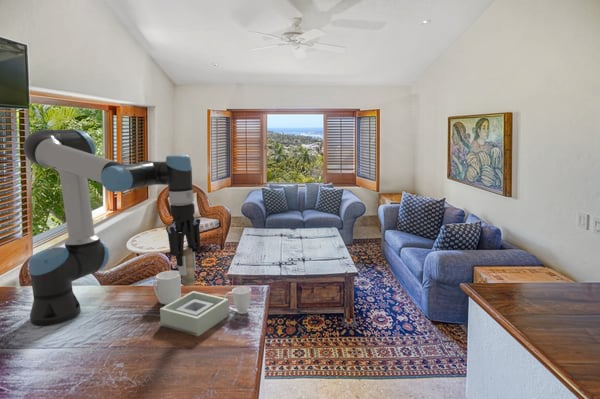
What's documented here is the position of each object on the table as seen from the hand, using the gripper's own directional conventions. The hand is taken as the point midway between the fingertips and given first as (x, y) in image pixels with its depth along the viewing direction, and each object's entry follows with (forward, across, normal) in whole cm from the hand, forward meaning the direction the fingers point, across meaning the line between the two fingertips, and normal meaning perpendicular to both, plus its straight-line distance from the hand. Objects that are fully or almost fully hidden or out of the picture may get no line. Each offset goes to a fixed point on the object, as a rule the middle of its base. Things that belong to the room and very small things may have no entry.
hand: (187, 272), depth 131 cm
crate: (+18, +1, -1) cm, 18 cm away
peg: (+4, 0, 0) cm, 4 cm away
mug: (+17, +8, +19) cm, 27 cm away
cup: (+18, +14, -10) cm, 24 cm away
